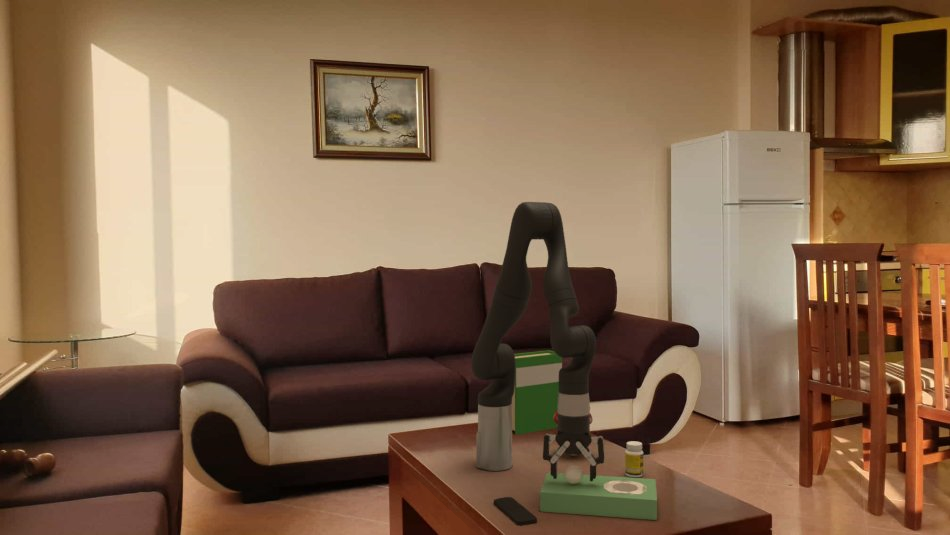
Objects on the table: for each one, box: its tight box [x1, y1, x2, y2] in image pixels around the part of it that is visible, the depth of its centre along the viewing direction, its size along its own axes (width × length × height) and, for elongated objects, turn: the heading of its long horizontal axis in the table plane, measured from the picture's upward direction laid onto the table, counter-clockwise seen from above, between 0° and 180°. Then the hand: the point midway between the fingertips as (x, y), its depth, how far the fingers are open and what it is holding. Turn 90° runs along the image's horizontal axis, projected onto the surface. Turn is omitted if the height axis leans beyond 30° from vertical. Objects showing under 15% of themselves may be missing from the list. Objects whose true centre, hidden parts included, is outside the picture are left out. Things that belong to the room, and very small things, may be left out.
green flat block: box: [539, 472, 658, 521], centre depth 177 cm, size 26×14×4 cm, turn 78°
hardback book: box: [512, 349, 563, 436], centre depth 243 cm, size 18×7×24 cm, turn 120°
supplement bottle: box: [624, 440, 644, 478], centre depth 197 cm, size 5×5×8 cm
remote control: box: [493, 496, 538, 527], centre depth 172 cm, size 5×2×15 cm
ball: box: [563, 464, 584, 484], centre depth 178 cm, size 4×4×4 cm
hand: (573, 479), depth 178 cm, fingers open, 8 cm apart
